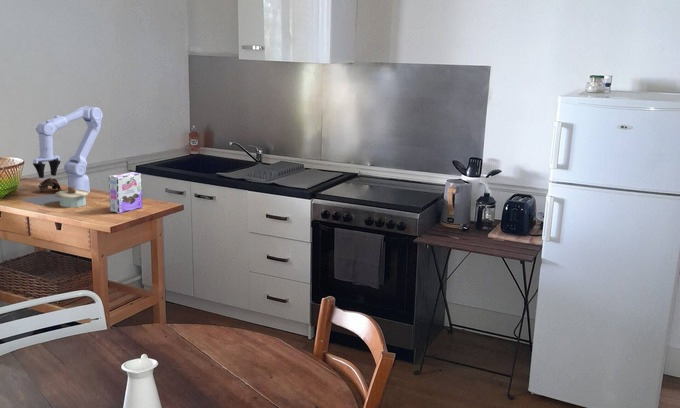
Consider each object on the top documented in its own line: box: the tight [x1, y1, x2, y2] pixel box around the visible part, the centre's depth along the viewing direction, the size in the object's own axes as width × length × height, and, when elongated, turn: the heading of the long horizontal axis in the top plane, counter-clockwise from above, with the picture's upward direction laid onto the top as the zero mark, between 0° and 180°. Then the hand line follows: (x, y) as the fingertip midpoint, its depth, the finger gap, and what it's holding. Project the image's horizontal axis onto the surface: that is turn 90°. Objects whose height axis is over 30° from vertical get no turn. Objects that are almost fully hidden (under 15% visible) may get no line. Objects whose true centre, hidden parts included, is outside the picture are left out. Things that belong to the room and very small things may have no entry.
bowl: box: [59, 196, 87, 209], centre depth 291 cm, size 11×11×5 cm
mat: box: [21, 193, 60, 206], centre depth 298 cm, size 16×16×1 cm
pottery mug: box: [38, 177, 63, 193], centre depth 315 cm, size 12×10×8 cm
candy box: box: [108, 171, 143, 214], centre depth 286 cm, size 14×6×16 cm, turn 148°
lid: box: [54, 187, 89, 198], centre depth 290 cm, size 14×14×3 cm
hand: (47, 176), depth 301 cm, fingers open, 7 cm apart
